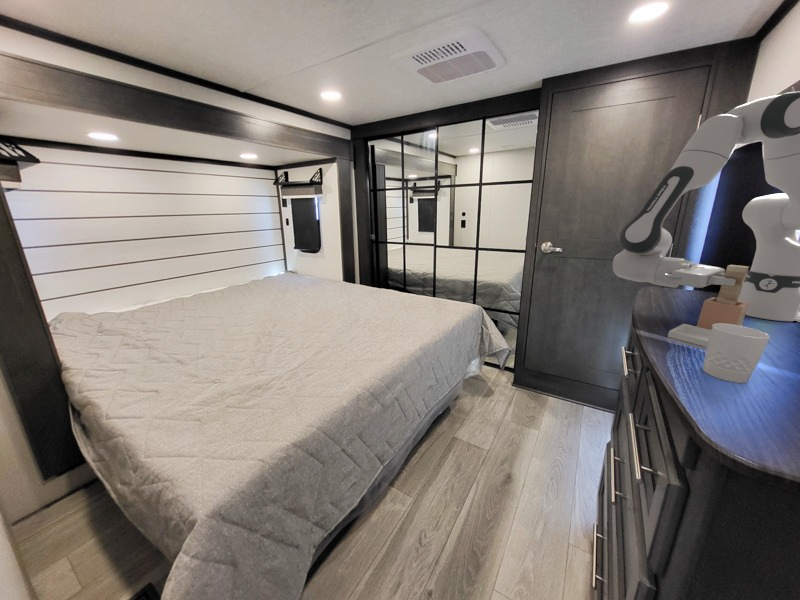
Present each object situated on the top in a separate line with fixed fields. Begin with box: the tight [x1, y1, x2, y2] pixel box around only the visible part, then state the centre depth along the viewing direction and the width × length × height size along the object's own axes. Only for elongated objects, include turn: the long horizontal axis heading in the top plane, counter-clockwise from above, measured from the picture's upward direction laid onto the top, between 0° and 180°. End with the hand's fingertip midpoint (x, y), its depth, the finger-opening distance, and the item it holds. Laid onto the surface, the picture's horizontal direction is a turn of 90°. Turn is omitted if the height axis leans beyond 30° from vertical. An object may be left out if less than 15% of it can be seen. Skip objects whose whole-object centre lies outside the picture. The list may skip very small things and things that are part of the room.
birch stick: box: [716, 264, 750, 306], centre depth 84 cm, size 3×3×18 cm
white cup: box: [701, 323, 771, 384], centre depth 63 cm, size 8×8×10 cm
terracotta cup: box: [696, 296, 749, 330], centre depth 86 cm, size 7×7×9 cm
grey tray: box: [666, 323, 711, 352], centre depth 79 cm, size 11×11×2 cm
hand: (738, 281), depth 82 cm, fingers open, 4 cm apart
